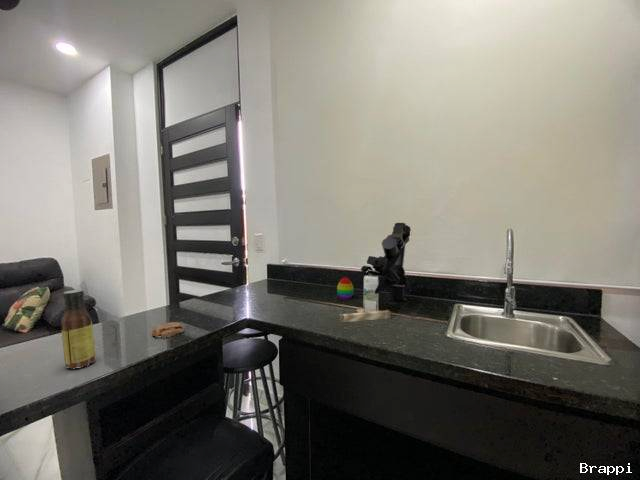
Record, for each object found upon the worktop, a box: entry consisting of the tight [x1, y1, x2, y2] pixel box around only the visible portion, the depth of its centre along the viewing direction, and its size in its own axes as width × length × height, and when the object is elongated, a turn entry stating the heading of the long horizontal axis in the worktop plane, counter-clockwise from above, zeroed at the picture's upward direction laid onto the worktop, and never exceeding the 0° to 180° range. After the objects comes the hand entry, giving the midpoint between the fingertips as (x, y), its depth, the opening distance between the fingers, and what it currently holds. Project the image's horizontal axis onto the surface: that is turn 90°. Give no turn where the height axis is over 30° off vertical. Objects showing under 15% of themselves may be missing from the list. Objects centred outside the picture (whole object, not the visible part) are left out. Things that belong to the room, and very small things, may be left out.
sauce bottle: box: [60, 289, 96, 368], centre depth 75 cm, size 7×6×20 cm
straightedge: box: [338, 309, 391, 324], centre depth 110 cm, size 20×2×3 cm, turn 104°
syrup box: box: [362, 275, 380, 312], centre depth 117 cm, size 6×6×14 cm
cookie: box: [151, 321, 185, 337], centre depth 98 cm, size 10×11×3 cm
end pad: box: [356, 308, 381, 313], centre depth 117 cm, size 9×9×1 cm
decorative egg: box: [336, 277, 355, 300], centre depth 142 cm, size 8×8×10 cm
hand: (368, 290), depth 116 cm, fingers open, 8 cm apart
